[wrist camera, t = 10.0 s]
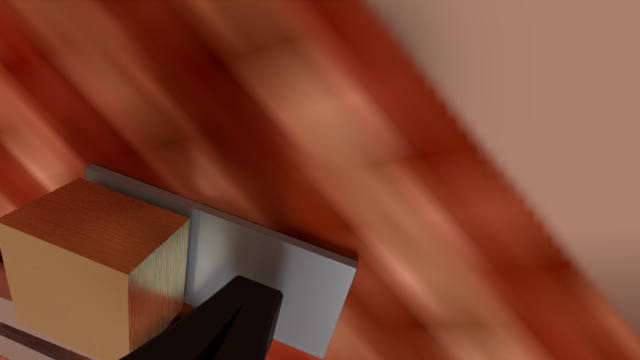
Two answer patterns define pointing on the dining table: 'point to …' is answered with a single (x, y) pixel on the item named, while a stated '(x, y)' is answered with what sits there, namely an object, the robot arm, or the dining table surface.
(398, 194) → the dining table surface
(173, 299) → the block
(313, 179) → the dining table surface
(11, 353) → the dark-tipped long bar
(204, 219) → the plate
